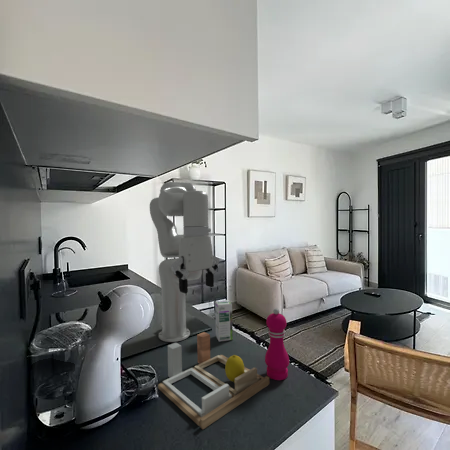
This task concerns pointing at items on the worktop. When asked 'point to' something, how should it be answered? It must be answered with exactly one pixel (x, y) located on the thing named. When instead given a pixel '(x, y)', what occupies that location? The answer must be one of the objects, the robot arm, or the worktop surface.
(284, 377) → the pepper mill
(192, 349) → the worktop surface
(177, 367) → the frame
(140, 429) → the worktop surface
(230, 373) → the lemon
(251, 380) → the frame
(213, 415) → the lane bed
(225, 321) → the syrup box
